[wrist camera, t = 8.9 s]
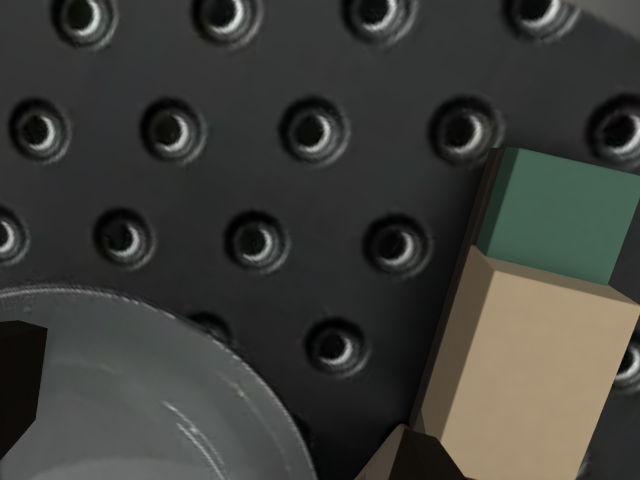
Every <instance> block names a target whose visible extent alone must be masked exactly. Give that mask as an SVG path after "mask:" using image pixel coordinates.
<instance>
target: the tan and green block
mask: <svg viewBox="0 0 640 480" xmlns="http://www.w3.org/2000/svg"><path fill="white" fill-rule="evenodd" d="M639 198H640V176H639V175H635V174H630V173H626V172H622V171H618V170H613V169H609V168H605V167H600V166H596V165H592V164H587V163H583V162H579V161H574V160H570V159H566V158H562V157H557V156H553V155H549V154H544V153H540V152H536V151H531V150H527V149H523V148H514V147H506V149H505V150H504V149H500V148H491V149H490V151H489V154H488V158H487V161H486V164H485V168H484V171H483V175H482V178H481V181H480V185H479V188H478V191H477V195H476V198H475V201H474V205H473V208H472V211H471V215H470V218H469V221H468V225H467V228H466V231H465V235H464V238H463V241H462V245H461V248H460V251H459V255H458V258H457V261H456V265H455V268H454V272H453V275H452V278H451V282H450V285H449V288H448V292H447V295H446V298H445V302H444V305H443V308H442V312H441V315H440V318H439V322H438V325H437V328H436V332H435V335H434V338H433V342H432V345H431V348H430V352H429V355H428V358H427V362H426V365H425V369H424V372H423V375H422V379H421V382H420V385H419V389H418V392H417V395H416V399H415V402H414V405H413V409H412V412H411V415H410V419H409V427H410V430H412V431H416V432H420V433H423V434H427V435H430V436H434V437H436V438H437V439H438V440H439V442H440V443H441V444H442V445H443V447H444V448H445V450H446V451H447V452H448V454H449V455H450V456H451V458H452V459H453V461H454V462H455V464H456V465H457V466H458V468H459V469H460V471H461V472H462V473H463V475H464V476H465V477H469V478H472V479H476V480H575V478H576V475H577V473H578V470H579V467H580V465H581V462H582V460H583V457H584V455H585V452H586V450H587V447H588V444H589V442H590V439H591V437H592V434H593V432H594V429H595V427H596V424H597V422H598V419H599V416H600V414H601V411H602V409H603V406H604V404H605V401H606V399H607V396H608V393H609V391H610V388H611V386H612V383H613V381H614V378H615V376H616V373H617V371H618V368H619V365H620V363H621V360H622V358H623V355H624V353H625V350H626V348H627V345H628V342H629V340H630V337H631V335H632V332H633V330H634V327H635V325H636V322H637V320H638V317H639V314H640V305H639V304H637V303H635V302H634V301H632V300H631V299H629V298H628V297H626V296H624V295H623V294H621V293H620V292H618V291H617V290H615V289H613V288H612V287H610V286H609V285H607V284H608V282H609V279H610V276H611V273H612V271H613V268H614V265H615V263H616V260H617V257H618V255H619V252H620V249H621V247H622V244H623V241H624V239H625V236H626V233H627V230H628V228H629V225H630V222H631V220H632V217H633V214H634V212H635V209H636V206H637V204H638V201H639Z"/></svg>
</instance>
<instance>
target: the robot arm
mask: <svg viewBox="0 0 640 480" xmlns="http://www.w3.org/2000/svg"><path fill="white" fill-rule="evenodd" d="M47 330H48V328H44V327H41V326H37V325H34V324H30V323H26V322H23V321H19V320H17V321H5V322H0V460H1V459H2V458H3V457H4V456H5V454H6V453H7V452H8V451H9V450H10V449H11V448H12V447H13V446H14V444H15V443H16V442H17V441H18V440H19V439H20V437H21V436H22V435H23V434H24V433H25V431H26V430H27V429H28V428H29V427H30V425H31V424H32V423H33V422H34V421H35V419H36V412H37V405H38V398H39V390H40V383H41V375H42V368H43V360H44V353H45V345H46V338H47ZM388 480H467V479H466V478H465V476H464V475H463V473H462V472H461V471H460V469H459V468H458V466H457V465H456V464H455V462H454V461H453V459H452V458H451V456H450V455H449V454H448V452H447V451H446V450H445V448H444V447H443V445H442V444H441V443H440V442H439V440H438V439H437V438H436V437H434V436H430V435H427V434H423V433H420V432H416V431H412V430H409V429H405V428H404V431H403V434H402V438H401V441H400V444H399V447H398V450H397V453H396V456H395V459H394V463H393V466H392V469H391V472H390V475H389V478H388Z"/></svg>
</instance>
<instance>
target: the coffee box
mask: <svg viewBox="0 0 640 480" xmlns="http://www.w3.org/2000/svg"><path fill="white" fill-rule="evenodd" d="M404 428H405V429H409V430H410V427H408V426H407V425H405V424H400V425H398V426H397V427H396V428H395V429H394V430H393V432H392V433H391V434H390V435H389V436H388V438H387V439H386V440H385V442H384V443H383V444H382V445H381V447H380V448H379V449H378V450H377V452H376V453H375V454H374V455H373V457H372V458H371V459H370V460H369V462H368V463H367V464H366V465H365V467H364V468H363V469H362V471H361V472H360V473H359V474H358V475H357V477H356V478H355V479H354V480H388V478H389V475H390V472H391V469H392V466H393V463H394V459H395V456H396V453H397V450H398V447H399V444H400V441H401V438H402V434H403V431H404ZM465 478H466V479H467V480H476V479H472V478H469V477H465Z"/></svg>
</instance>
